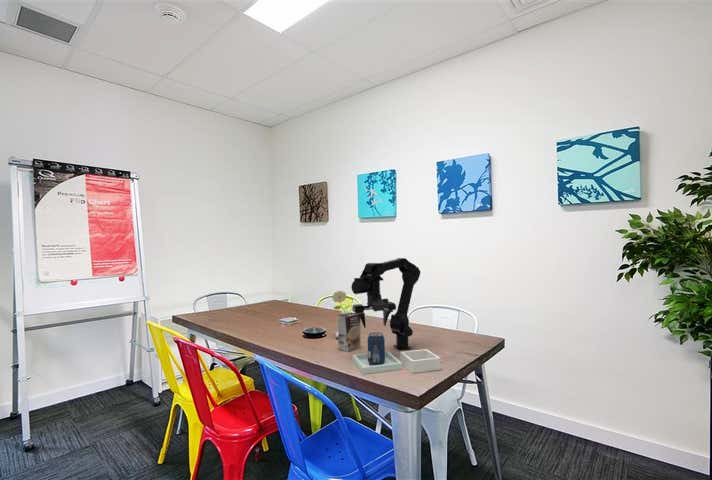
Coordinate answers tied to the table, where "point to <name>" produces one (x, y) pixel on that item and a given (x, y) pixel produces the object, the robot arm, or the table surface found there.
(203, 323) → the table surface
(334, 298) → the flower in vase
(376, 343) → the soda can
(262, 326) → the table surface
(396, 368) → the tray
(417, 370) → the pale square open box
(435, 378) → the table surface
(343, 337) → the coffee box
